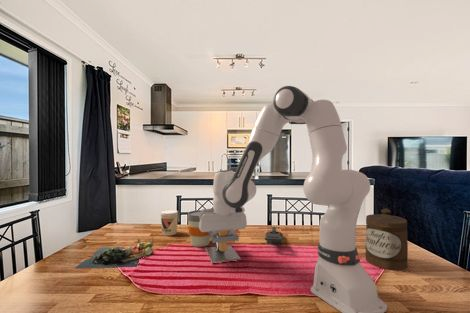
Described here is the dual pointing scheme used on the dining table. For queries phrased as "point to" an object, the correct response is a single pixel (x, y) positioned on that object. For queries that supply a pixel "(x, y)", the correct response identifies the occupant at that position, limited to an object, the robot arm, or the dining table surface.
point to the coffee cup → (169, 222)
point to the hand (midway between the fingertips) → (222, 240)
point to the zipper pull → (274, 237)
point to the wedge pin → (223, 244)
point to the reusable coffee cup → (196, 230)
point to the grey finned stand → (222, 255)
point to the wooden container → (386, 240)
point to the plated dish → (118, 256)
